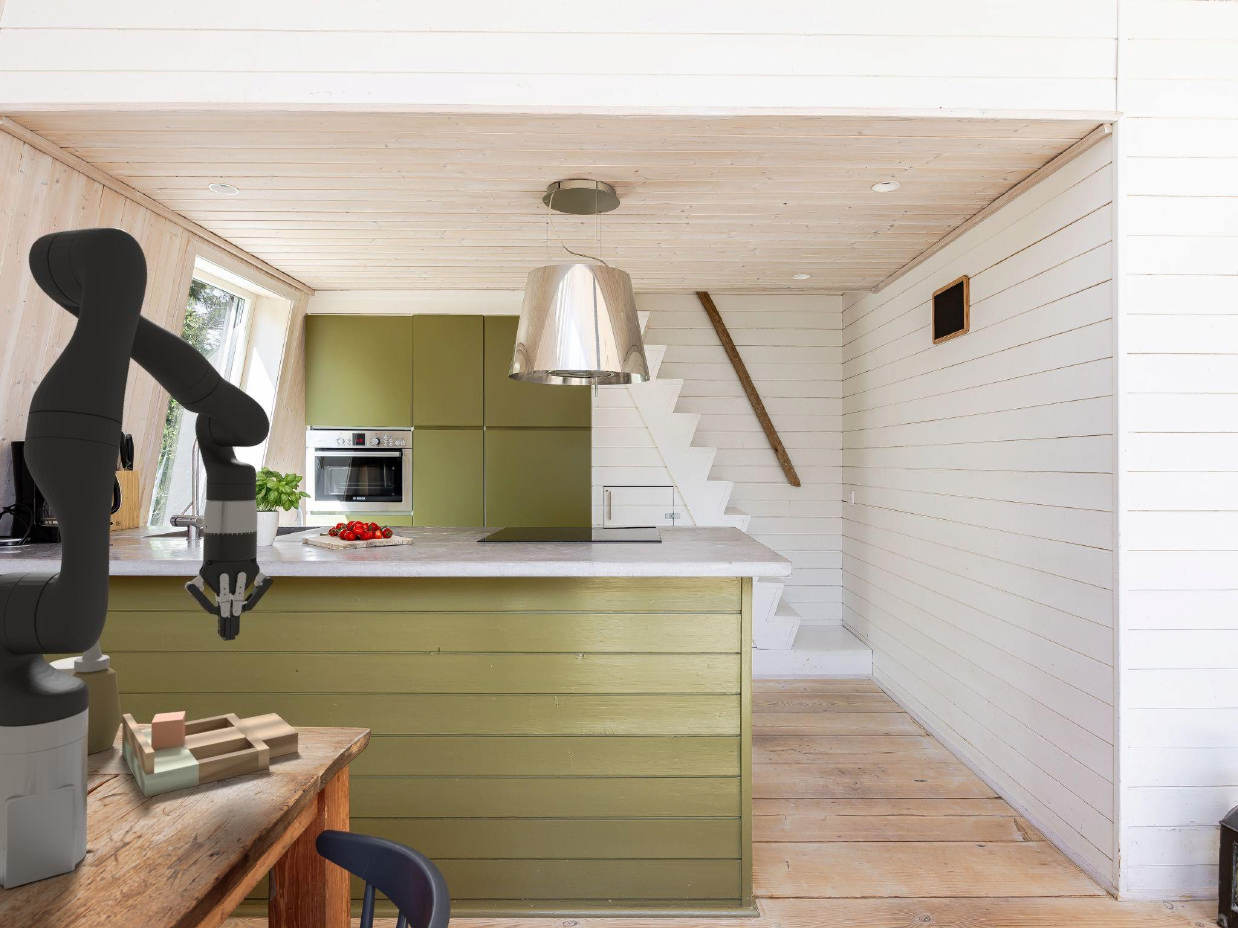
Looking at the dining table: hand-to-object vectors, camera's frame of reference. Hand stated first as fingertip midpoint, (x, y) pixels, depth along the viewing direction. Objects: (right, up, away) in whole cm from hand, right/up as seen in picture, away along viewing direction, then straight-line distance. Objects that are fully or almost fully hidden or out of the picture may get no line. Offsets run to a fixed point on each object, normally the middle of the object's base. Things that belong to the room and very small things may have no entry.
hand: (228, 639), depth 120 cm
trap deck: (-2, -18, -1) cm, 18 cm away
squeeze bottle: (-22, -18, +1) cm, 29 cm away
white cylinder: (-29, -18, +7) cm, 35 cm away
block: (-7, -15, -4) cm, 17 cm away
